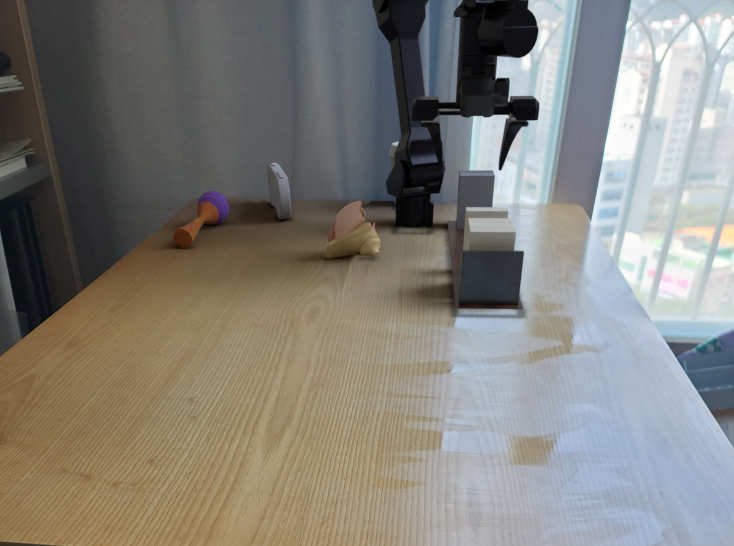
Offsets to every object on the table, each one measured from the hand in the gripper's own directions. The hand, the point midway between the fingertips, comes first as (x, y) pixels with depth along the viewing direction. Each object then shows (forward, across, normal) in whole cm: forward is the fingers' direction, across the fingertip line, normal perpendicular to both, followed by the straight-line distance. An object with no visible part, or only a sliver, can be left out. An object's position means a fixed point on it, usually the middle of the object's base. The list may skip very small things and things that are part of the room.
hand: (470, 170), depth 118 cm
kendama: (+13, -48, +12) cm, 51 cm away
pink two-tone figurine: (+13, -19, -2) cm, 23 cm away
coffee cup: (+13, -10, +33) cm, 37 cm away
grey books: (+12, +2, +14) cm, 19 cm away
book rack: (+13, +2, -6) cm, 14 cm away
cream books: (+12, +2, -22) cm, 25 cm away
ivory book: (+12, +2, -13) cm, 18 cm away
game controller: (+13, -36, +29) cm, 48 cm away
